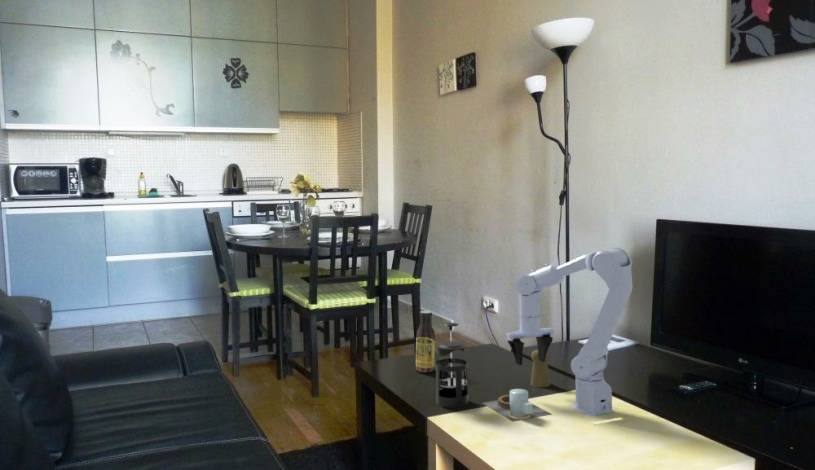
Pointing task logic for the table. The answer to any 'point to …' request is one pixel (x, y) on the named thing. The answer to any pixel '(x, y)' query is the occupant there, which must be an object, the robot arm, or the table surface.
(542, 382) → the pepper shaker
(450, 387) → the french press
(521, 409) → the white ceramic mug
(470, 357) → the table surface
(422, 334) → the sauce bottle
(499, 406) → the board
